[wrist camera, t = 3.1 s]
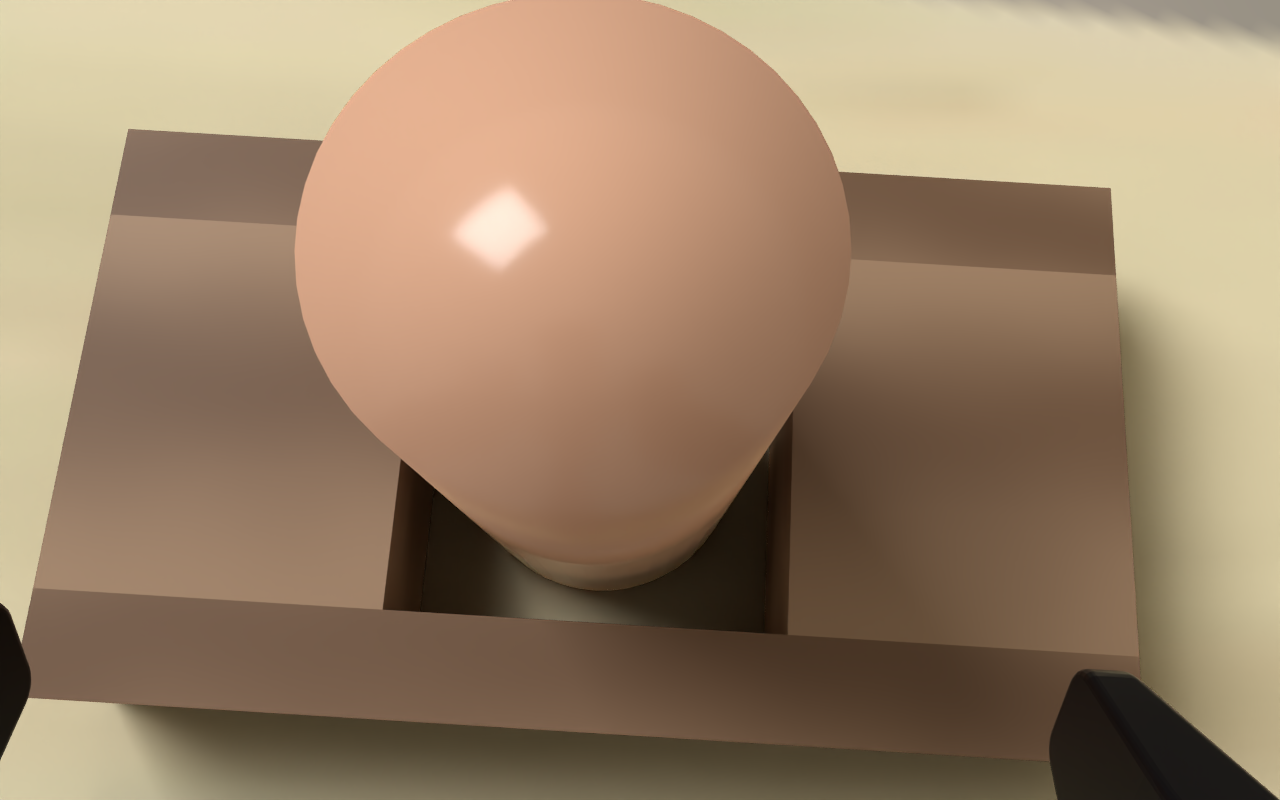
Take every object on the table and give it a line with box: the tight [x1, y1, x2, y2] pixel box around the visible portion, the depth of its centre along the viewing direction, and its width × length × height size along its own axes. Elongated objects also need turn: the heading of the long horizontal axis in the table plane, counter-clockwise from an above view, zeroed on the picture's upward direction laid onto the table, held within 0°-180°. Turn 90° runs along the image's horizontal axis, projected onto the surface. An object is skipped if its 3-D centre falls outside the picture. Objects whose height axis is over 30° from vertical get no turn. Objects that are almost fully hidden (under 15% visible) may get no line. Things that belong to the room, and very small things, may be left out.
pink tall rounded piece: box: [294, 0, 851, 591], centre depth 15 cm, size 5×5×11 cm
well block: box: [22, 129, 1141, 762], centre depth 19 cm, size 10×18×3 cm, turn 87°
